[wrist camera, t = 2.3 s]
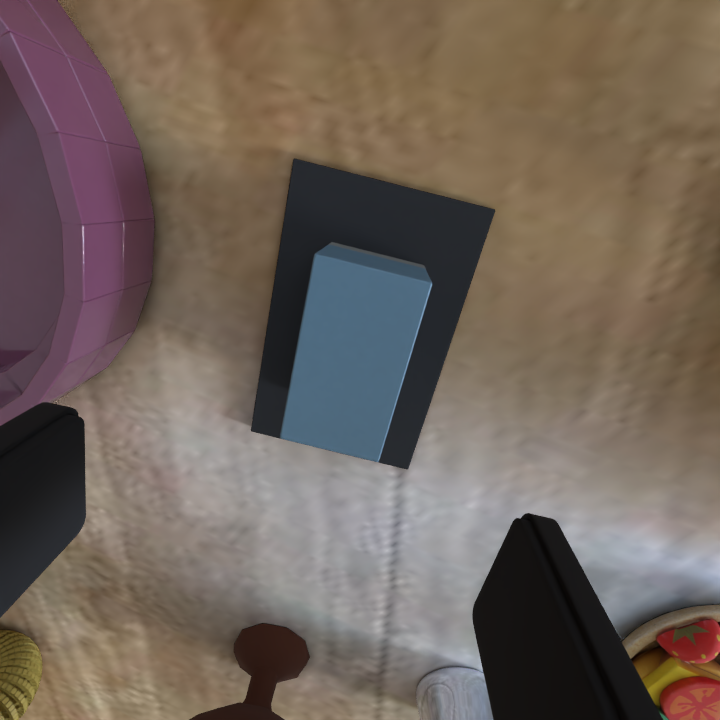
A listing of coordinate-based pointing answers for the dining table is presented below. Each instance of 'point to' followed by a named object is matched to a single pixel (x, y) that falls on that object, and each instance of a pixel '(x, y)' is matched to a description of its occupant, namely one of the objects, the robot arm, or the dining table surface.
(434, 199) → the rubber mat
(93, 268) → the serving bowl
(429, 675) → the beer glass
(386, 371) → the block
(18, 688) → the sculpture
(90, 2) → the dining table surface
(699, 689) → the toy food set
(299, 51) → the dining table surface
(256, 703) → the ice cream bowl
